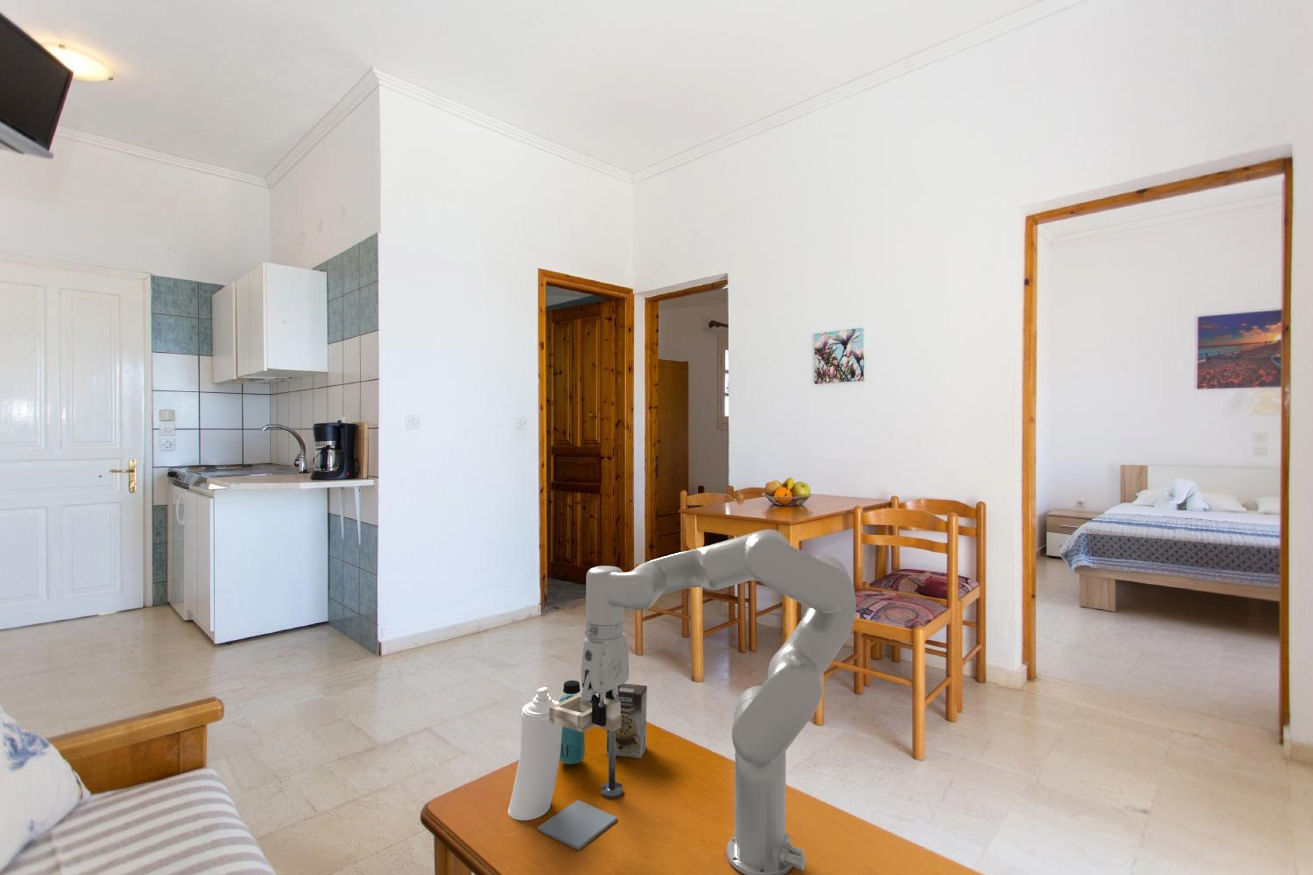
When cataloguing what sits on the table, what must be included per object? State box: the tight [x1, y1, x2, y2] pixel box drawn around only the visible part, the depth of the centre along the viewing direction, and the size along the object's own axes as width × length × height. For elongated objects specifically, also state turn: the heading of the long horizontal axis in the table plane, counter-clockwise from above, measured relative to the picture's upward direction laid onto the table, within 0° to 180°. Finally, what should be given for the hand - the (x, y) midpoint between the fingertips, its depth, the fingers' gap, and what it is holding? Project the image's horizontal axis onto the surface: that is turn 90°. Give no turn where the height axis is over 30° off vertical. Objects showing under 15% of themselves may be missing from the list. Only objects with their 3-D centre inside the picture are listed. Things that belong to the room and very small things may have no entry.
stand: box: [600, 731, 624, 799], centre depth 143 cm, size 5×5×19 cm
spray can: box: [507, 687, 562, 821], centre depth 138 cm, size 12×11×25 cm
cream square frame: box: [549, 692, 621, 733], centre depth 129 cm, size 14×9×5 cm, turn 55°
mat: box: [537, 799, 618, 851], centre depth 131 cm, size 11×12×1 cm
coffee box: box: [606, 683, 648, 759], centre depth 162 cm, size 9×6×16 cm
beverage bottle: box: [558, 680, 585, 765], centre depth 155 cm, size 6×7×20 cm
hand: (603, 720), depth 127 cm, fingers closed on cream square frame
